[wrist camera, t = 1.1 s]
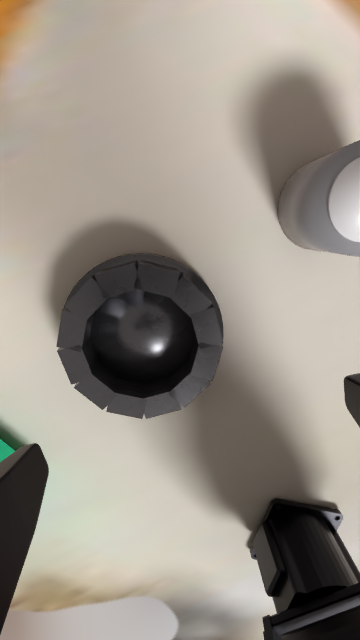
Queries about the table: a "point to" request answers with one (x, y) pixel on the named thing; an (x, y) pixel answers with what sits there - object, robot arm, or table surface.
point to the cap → (324, 203)
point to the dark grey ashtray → (140, 335)
